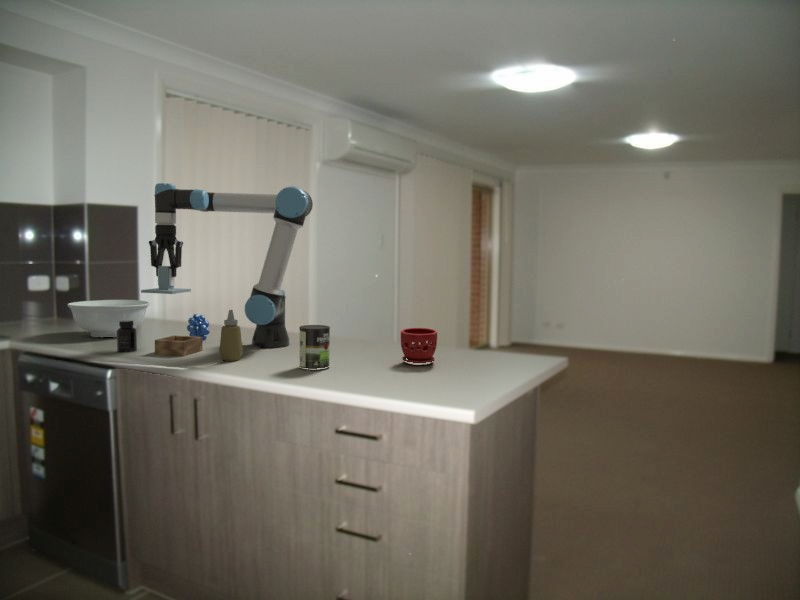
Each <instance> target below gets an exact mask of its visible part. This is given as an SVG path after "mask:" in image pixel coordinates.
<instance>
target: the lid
mask: <svg viewBox="0 0 800 600" xmlns="http://www.w3.org/2000/svg"><path fill="white" fill-rule="evenodd" d="M170 267H171V266H170V265H162V266H158V270H159V285H158V287H157V288H156V287H155V288H148V289H146V288H145V289H140V293H141V294H161V295H163V294H164V295H165V294H166V295H174V294H175V295H176V294H182V293H188V292H189V293H190V292H191V291H192V288H179V287H178V288H175V285H174V286H169V269H170Z"/></svg>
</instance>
